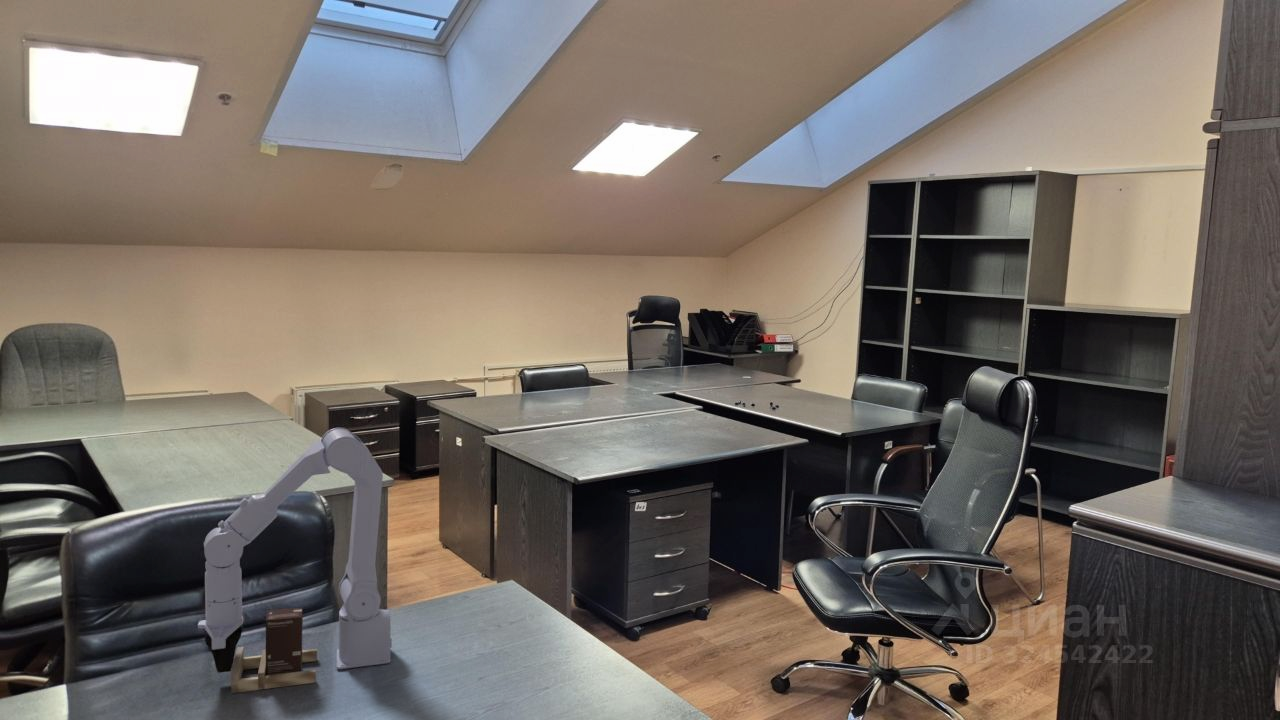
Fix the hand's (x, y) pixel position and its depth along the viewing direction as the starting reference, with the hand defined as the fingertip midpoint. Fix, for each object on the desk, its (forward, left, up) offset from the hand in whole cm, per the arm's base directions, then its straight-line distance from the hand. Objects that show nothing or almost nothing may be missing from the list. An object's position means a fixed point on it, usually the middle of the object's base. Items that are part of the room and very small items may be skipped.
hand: (224, 670), depth 142 cm
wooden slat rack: (-8, 0, -2) cm, 8 cm away
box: (-10, +1, -2) cm, 10 cm away
